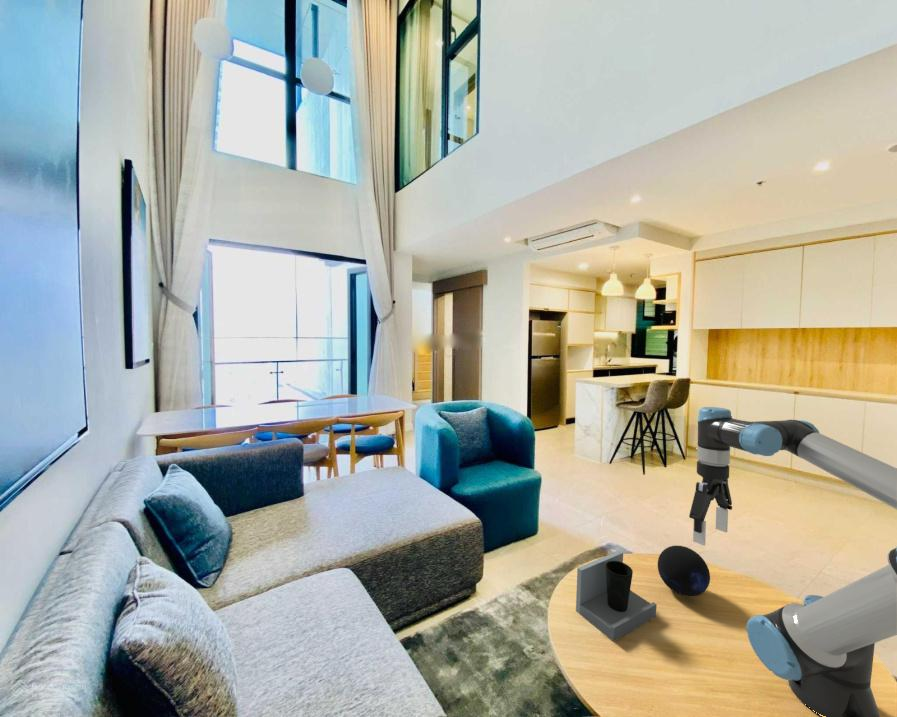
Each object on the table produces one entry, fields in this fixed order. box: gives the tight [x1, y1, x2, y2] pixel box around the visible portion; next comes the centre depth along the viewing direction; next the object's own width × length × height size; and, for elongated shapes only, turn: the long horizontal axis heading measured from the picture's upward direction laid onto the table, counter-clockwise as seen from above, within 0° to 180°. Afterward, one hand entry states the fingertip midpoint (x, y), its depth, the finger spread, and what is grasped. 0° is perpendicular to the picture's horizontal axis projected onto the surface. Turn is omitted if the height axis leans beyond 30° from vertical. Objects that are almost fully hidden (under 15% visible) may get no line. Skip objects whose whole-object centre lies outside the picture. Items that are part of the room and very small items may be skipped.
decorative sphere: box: [657, 545, 711, 597], centre depth 127 cm, size 15×15×15 cm
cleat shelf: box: [575, 550, 657, 642], centre depth 116 cm, size 14×20×14 cm
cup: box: [605, 561, 634, 612], centre depth 116 cm, size 8×8×12 cm
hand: (710, 536), depth 107 cm, fingers open, 13 cm apart
